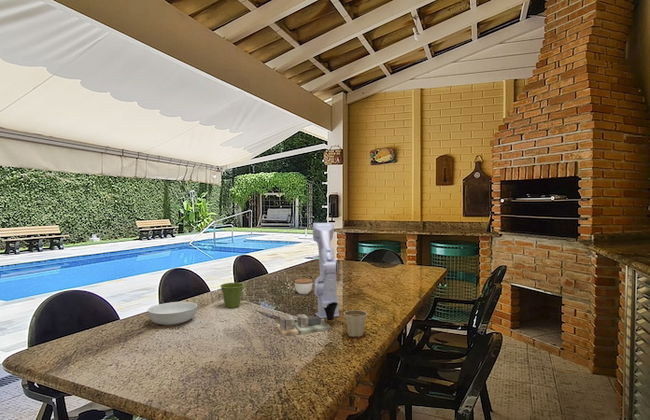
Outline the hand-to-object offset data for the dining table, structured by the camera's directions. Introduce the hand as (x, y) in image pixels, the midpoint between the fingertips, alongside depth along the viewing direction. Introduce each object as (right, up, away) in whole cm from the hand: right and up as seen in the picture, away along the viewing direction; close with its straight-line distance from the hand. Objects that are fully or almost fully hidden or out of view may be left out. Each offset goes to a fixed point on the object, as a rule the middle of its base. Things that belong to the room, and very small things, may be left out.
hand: (330, 320), depth 164 cm
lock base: (-11, -2, -4) cm, 12 cm away
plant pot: (-50, -3, +31) cm, 59 cm away
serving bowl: (-71, -3, +7) cm, 71 cm away
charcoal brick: (-9, -1, -3) cm, 10 cm away
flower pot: (+10, -3, -12) cm, 16 cm away
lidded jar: (-15, -2, +60) cm, 61 cm away
